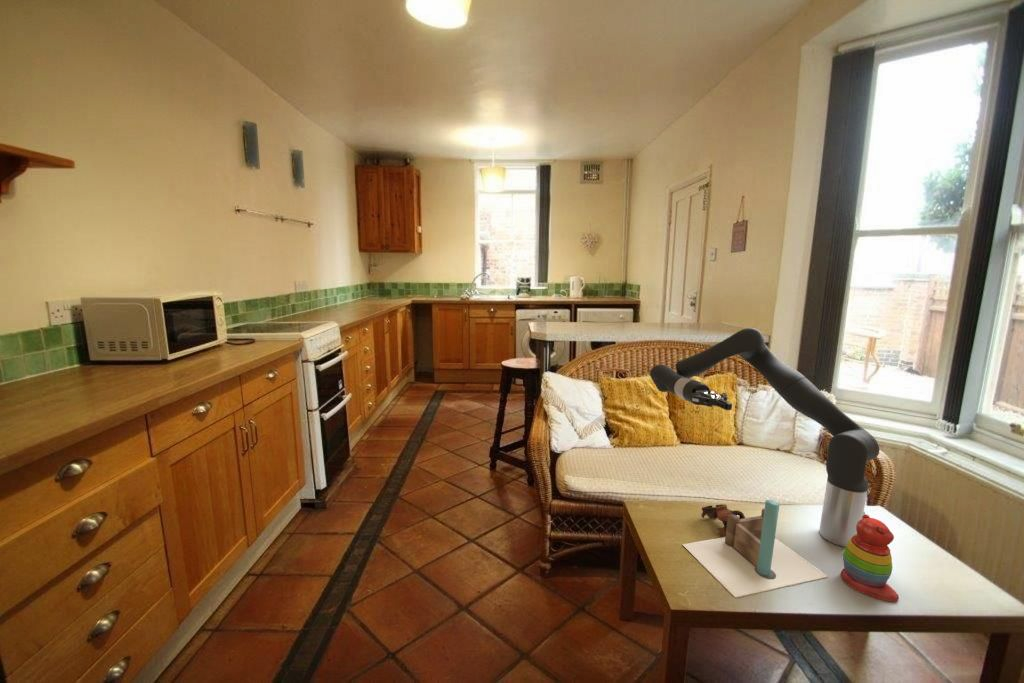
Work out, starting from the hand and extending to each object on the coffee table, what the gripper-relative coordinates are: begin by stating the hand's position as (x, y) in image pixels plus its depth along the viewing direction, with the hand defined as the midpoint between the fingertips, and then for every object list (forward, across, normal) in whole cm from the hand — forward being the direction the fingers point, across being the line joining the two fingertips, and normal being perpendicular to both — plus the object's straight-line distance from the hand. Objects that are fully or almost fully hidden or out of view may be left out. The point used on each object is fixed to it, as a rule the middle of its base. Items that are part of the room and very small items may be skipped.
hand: (729, 407), depth 124 cm
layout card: (+17, -4, +38) cm, 42 cm away
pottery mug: (+2, 0, +38) cm, 38 cm away
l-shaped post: (+18, -4, +37) cm, 41 cm away
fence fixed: (+10, +2, +38) cm, 39 cm away
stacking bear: (+31, +18, +38) cm, 52 cm away
